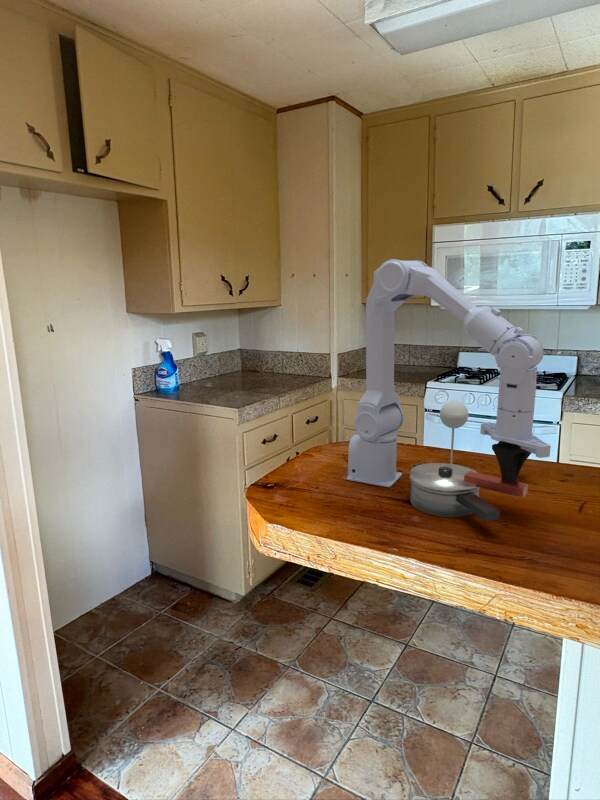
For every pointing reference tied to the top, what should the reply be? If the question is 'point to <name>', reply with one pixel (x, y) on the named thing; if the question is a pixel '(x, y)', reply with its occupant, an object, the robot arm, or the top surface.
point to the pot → (451, 503)
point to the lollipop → (453, 418)
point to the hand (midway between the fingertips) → (509, 484)
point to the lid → (462, 479)
